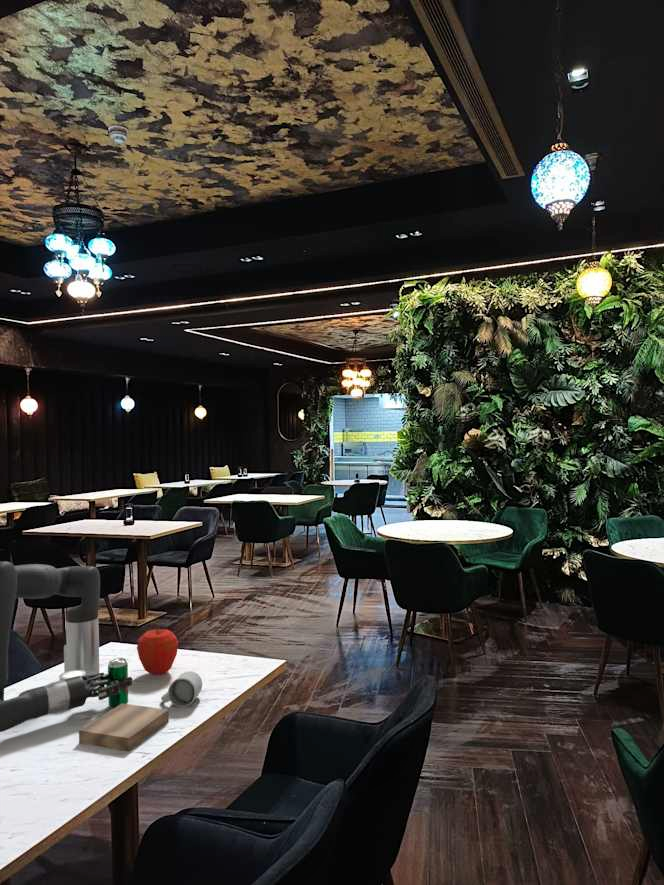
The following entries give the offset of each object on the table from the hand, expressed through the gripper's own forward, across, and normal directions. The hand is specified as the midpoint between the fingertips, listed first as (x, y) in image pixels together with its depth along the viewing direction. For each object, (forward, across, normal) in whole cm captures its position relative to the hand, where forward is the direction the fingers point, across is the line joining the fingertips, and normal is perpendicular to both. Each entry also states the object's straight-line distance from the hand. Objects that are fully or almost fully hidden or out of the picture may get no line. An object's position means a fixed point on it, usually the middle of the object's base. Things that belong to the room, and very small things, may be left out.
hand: (127, 677), depth 172 cm
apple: (+16, +14, +7) cm, 22 cm away
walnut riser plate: (-8, -17, +7) cm, 20 cm away
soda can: (-3, 0, +7) cm, 7 cm away
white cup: (-10, +13, +7) cm, 18 cm away
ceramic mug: (+11, -10, +7) cm, 16 cm away
